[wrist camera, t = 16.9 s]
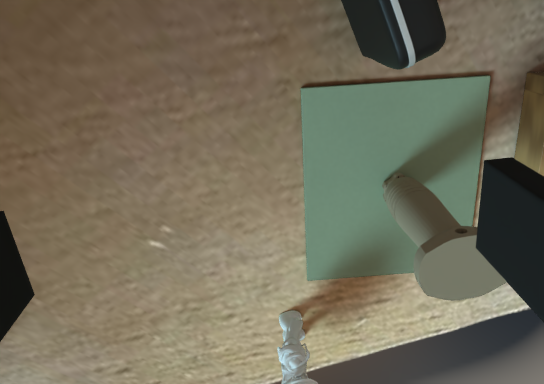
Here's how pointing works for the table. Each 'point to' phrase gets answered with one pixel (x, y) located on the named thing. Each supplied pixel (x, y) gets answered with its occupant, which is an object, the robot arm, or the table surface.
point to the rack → (532, 124)
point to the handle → (439, 243)
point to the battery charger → (396, 29)
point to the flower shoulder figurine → (293, 350)
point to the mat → (384, 166)
